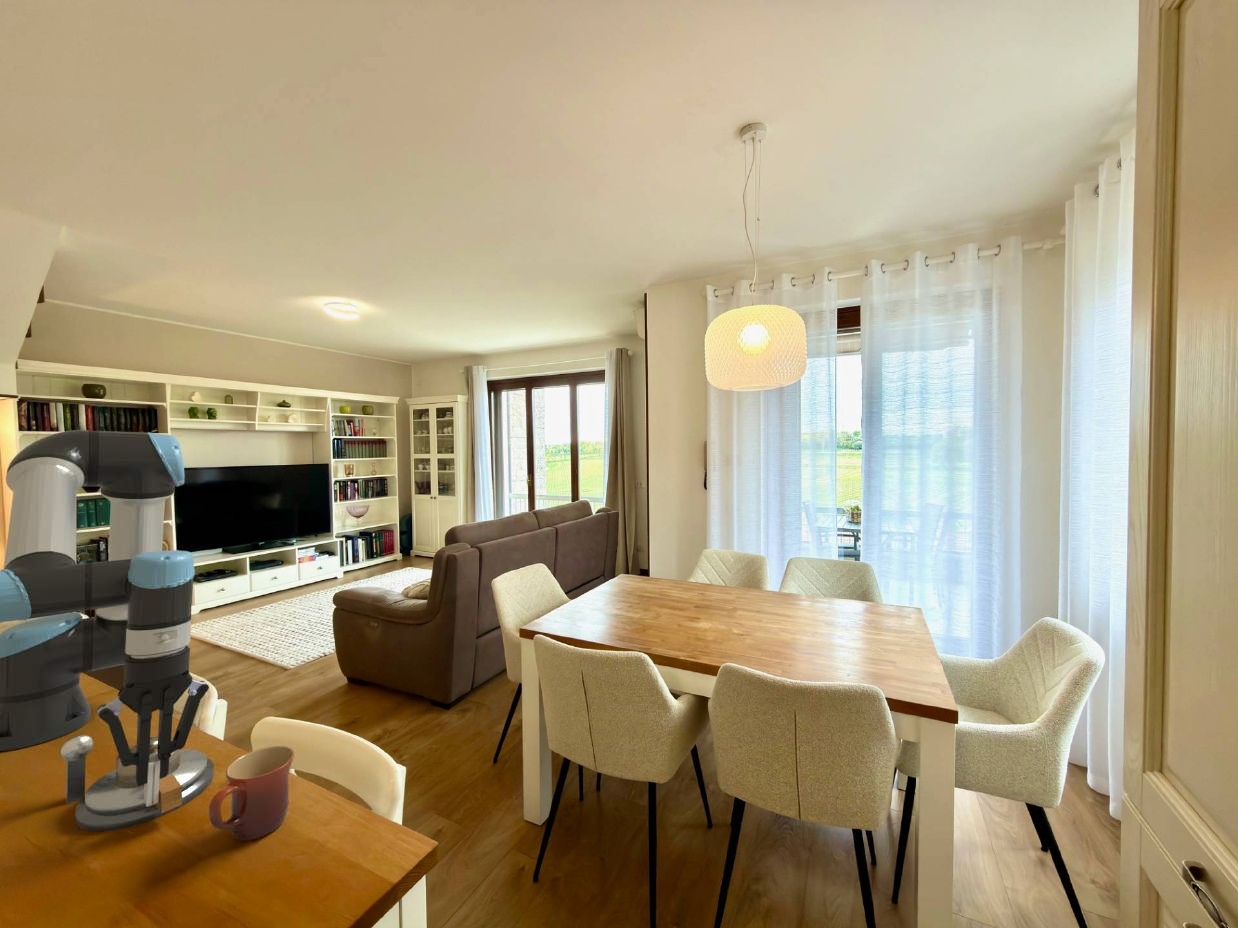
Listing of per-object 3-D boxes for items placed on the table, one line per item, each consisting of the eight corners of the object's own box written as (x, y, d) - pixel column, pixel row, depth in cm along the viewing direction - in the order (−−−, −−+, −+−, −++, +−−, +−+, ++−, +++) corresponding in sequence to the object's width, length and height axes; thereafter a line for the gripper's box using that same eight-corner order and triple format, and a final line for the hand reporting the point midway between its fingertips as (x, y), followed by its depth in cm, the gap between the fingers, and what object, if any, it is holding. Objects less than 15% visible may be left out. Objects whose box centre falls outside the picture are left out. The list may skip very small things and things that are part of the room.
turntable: (76, 789, 81) (76, 767, 81) (191, 748, 94) (191, 728, 94) (103, 843, 70) (103, 817, 70) (230, 788, 83) (230, 765, 83)
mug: (262, 802, 82) (263, 742, 82) (306, 811, 80) (307, 749, 80) (185, 859, 70) (187, 788, 70) (235, 870, 68) (236, 797, 68)
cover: (110, 776, 83) (111, 744, 83) (172, 753, 89) (173, 724, 89) (122, 794, 78) (123, 760, 78) (186, 769, 85) (187, 738, 85)
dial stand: (58, 801, 81) (60, 736, 81) (90, 790, 84) (91, 728, 84) (59, 808, 79) (61, 743, 79) (92, 797, 82) (93, 733, 82)
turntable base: (70, 798, 82) (70, 789, 82) (200, 752, 95) (200, 745, 95) (80, 848, 71) (81, 838, 71) (225, 789, 85) (225, 780, 85)
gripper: (102, 668, 69) (93, 835, 69) (216, 645, 79) (209, 790, 79) (96, 655, 74) (88, 811, 73) (205, 634, 84) (198, 772, 84)
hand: (151, 800), depth 76 cm, fingers closed
